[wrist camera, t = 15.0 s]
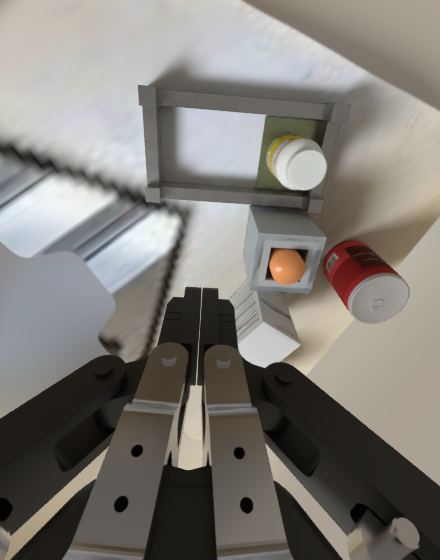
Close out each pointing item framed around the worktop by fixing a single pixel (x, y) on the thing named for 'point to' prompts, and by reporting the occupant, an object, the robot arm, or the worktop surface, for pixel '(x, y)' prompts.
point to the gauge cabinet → (281, 246)
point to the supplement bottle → (296, 162)
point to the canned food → (365, 282)
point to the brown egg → (286, 265)
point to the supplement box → (263, 326)
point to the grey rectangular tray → (274, 127)
